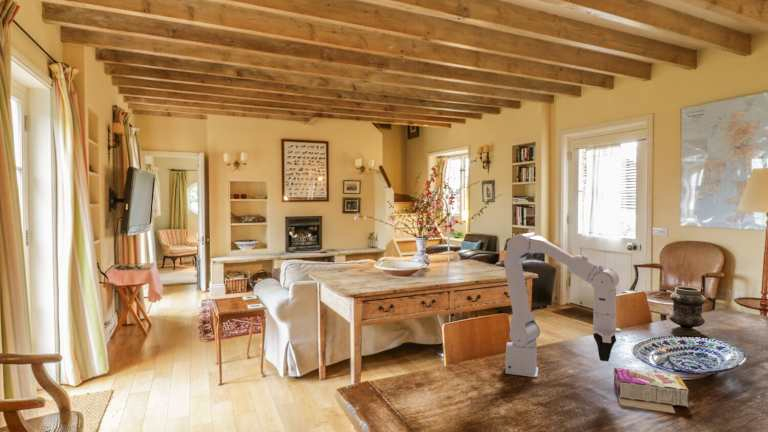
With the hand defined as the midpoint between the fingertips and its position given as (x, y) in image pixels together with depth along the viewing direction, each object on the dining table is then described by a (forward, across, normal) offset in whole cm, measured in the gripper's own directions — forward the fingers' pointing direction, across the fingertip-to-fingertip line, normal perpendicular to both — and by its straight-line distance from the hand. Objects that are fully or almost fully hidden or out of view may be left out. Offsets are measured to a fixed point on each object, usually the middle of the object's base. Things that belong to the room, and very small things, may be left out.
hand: (604, 360), depth 125 cm
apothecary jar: (+10, +73, -36) cm, 82 cm away
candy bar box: (+7, +2, -3) cm, 8 cm away
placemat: (+9, 0, -10) cm, 14 cm away
